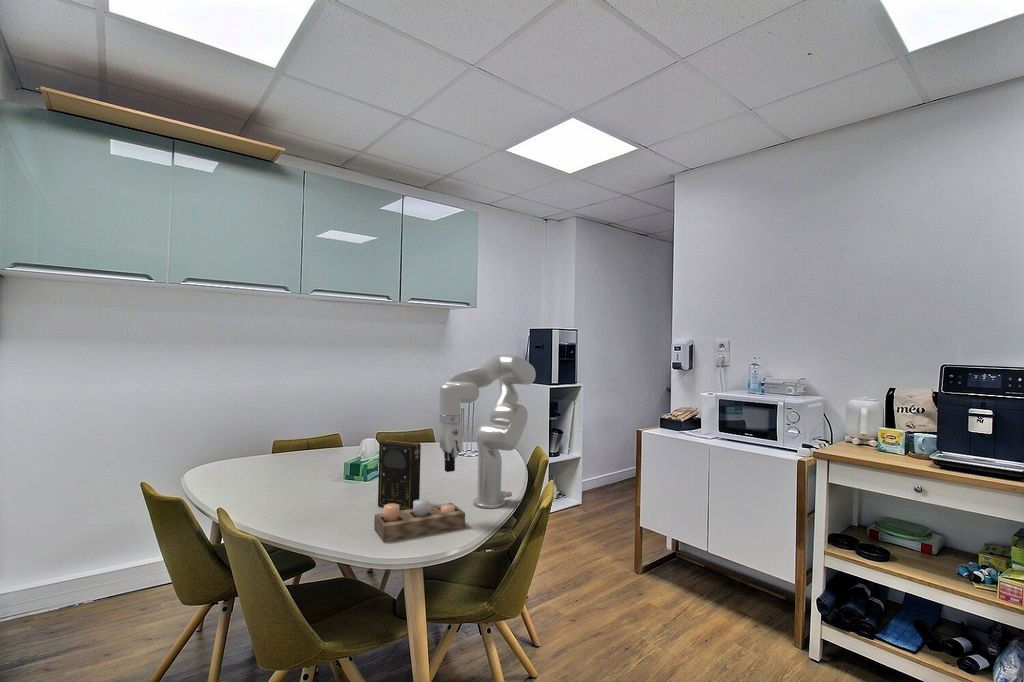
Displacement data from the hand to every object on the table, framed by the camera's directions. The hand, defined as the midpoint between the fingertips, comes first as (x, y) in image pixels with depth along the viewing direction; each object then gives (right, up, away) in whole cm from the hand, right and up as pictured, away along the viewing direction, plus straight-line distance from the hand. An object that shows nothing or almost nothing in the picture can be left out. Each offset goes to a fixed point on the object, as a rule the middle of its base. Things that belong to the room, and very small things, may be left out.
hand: (449, 470), depth 168 cm
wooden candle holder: (-9, -18, -6) cm, 21 cm away
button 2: (-1, -17, -1) cm, 17 cm away
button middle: (-9, -14, -6) cm, 18 cm away
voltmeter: (-22, -18, +16) cm, 33 cm away
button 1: (-18, -14, -11) cm, 25 cm away
